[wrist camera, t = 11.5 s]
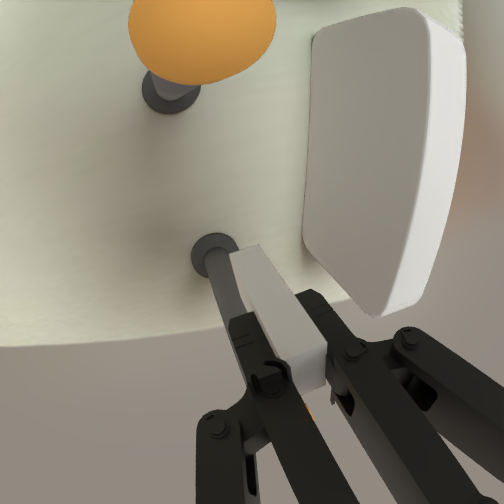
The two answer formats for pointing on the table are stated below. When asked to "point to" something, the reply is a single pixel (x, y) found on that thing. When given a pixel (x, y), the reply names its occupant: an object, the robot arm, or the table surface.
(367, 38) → the rounded white slab
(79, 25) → the table surface
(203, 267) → the cable post
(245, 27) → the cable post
